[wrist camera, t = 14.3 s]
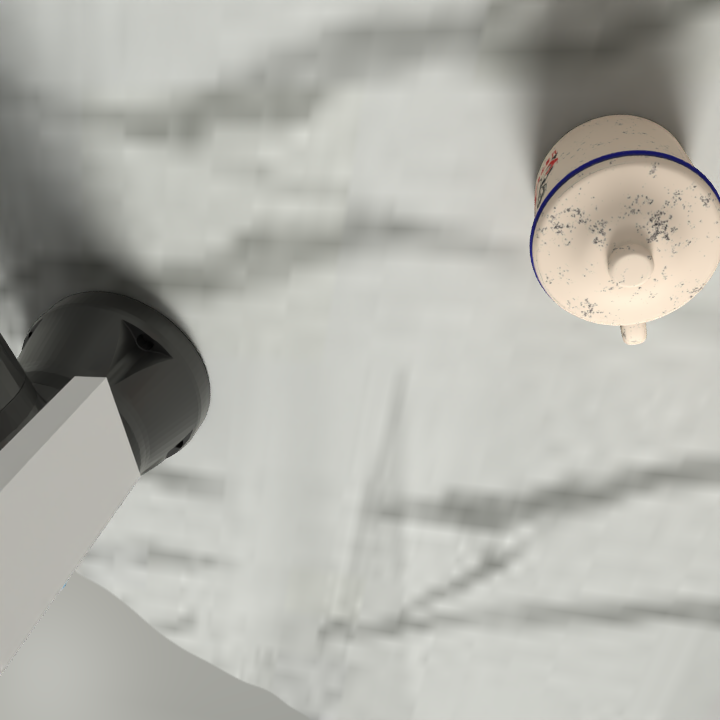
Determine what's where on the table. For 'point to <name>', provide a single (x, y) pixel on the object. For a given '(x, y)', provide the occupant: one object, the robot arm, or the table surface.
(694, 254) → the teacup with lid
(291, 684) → the table surface
